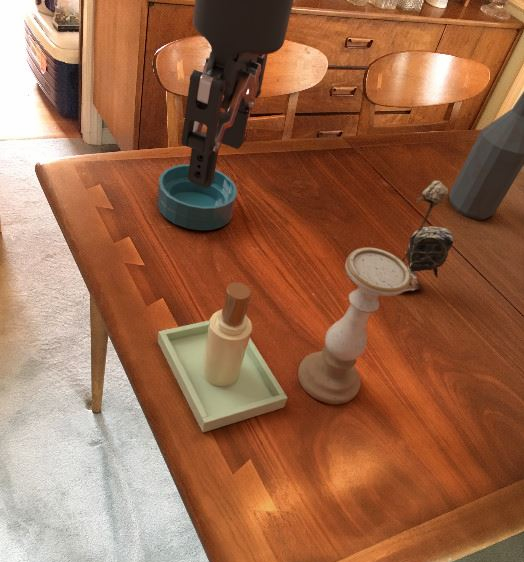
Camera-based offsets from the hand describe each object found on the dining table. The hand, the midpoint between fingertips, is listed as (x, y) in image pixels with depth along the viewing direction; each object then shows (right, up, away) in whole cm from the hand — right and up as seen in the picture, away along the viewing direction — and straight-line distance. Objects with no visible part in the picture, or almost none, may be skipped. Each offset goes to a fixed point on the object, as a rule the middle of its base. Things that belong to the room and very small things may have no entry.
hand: (216, 163), depth 54 cm
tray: (-1, -21, +20) cm, 29 cm away
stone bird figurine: (+28, -6, +43) cm, 52 cm away
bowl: (-7, +7, +44) cm, 45 cm away
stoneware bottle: (-1, -21, +20) cm, 29 cm away
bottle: (+49, +12, +65) cm, 82 cm away
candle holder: (+14, -22, +24) cm, 35 cm away
